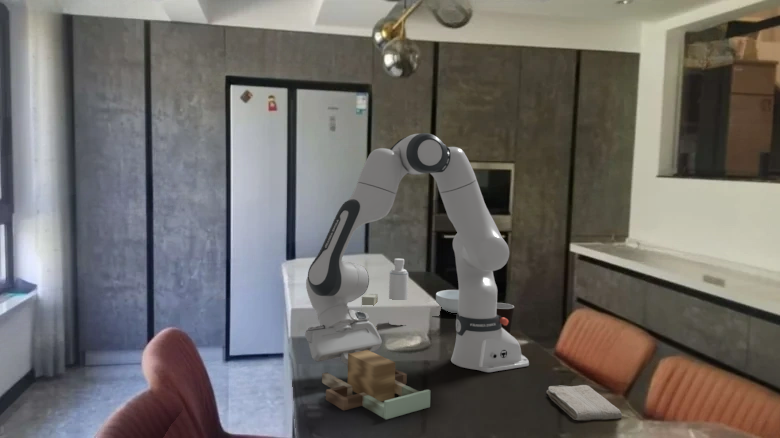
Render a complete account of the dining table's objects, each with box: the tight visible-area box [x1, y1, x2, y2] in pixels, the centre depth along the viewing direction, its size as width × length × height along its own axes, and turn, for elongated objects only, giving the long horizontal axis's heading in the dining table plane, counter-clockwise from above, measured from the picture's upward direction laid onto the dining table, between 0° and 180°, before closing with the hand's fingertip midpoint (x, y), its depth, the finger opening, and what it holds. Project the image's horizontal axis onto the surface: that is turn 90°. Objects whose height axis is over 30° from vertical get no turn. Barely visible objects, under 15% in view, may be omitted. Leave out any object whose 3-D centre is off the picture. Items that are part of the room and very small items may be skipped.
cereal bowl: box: [435, 289, 459, 314], centre depth 244 cm, size 17×17×7 cm
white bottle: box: [388, 257, 409, 300], centre depth 223 cm, size 7×7×25 cm
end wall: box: [383, 388, 432, 420], centre depth 145 cm, size 1×13×4 cm, turn 127°
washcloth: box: [546, 384, 623, 421], centre depth 152 cm, size 12×18×3 cm, turn 11°
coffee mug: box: [497, 302, 515, 335], centre depth 214 cm, size 12×9×10 cm
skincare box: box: [361, 293, 379, 306], centre depth 215 cm, size 6×4×12 cm
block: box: [347, 350, 396, 402], centre depth 157 cm, size 12×6×9 cm, turn 36°
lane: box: [321, 368, 420, 419], centre depth 157 cm, size 27×23×2 cm
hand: (356, 368), depth 162 cm, fingers closed, pressing on block
